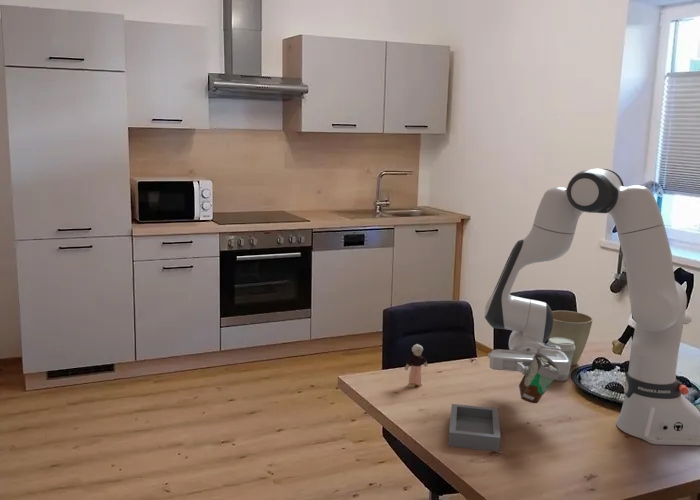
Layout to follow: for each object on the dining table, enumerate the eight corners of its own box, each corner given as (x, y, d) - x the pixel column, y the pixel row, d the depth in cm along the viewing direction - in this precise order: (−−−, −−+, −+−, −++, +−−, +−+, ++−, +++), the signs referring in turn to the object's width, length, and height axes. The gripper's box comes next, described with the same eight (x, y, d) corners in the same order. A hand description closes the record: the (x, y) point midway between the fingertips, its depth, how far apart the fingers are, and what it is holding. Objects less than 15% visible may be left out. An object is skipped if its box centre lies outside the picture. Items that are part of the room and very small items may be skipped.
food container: (544, 412, 165) (565, 378, 163) (521, 400, 165) (541, 366, 163) (540, 394, 177) (559, 361, 175) (518, 383, 177) (537, 350, 175)
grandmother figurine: (411, 389, 199) (413, 348, 197) (402, 385, 202) (404, 344, 200) (429, 384, 204) (431, 343, 202) (420, 380, 207) (422, 340, 205)
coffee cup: (542, 379, 211) (545, 342, 209) (545, 371, 219) (548, 335, 217) (571, 384, 208) (574, 346, 206) (573, 375, 216) (577, 339, 214)
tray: (496, 420, 179) (497, 408, 179) (499, 451, 162) (500, 437, 161) (450, 416, 181) (451, 403, 181) (448, 446, 164) (449, 432, 163)
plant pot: (541, 353, 237) (545, 308, 234) (586, 358, 233) (591, 313, 231) (541, 366, 223) (545, 319, 220) (589, 372, 219) (594, 324, 216)
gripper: (488, 341, 186) (489, 357, 173) (566, 346, 183) (573, 363, 169) (487, 363, 187) (488, 380, 174) (564, 369, 184) (571, 387, 170)
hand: (530, 372), depth 172 cm, fingers closed on food container
